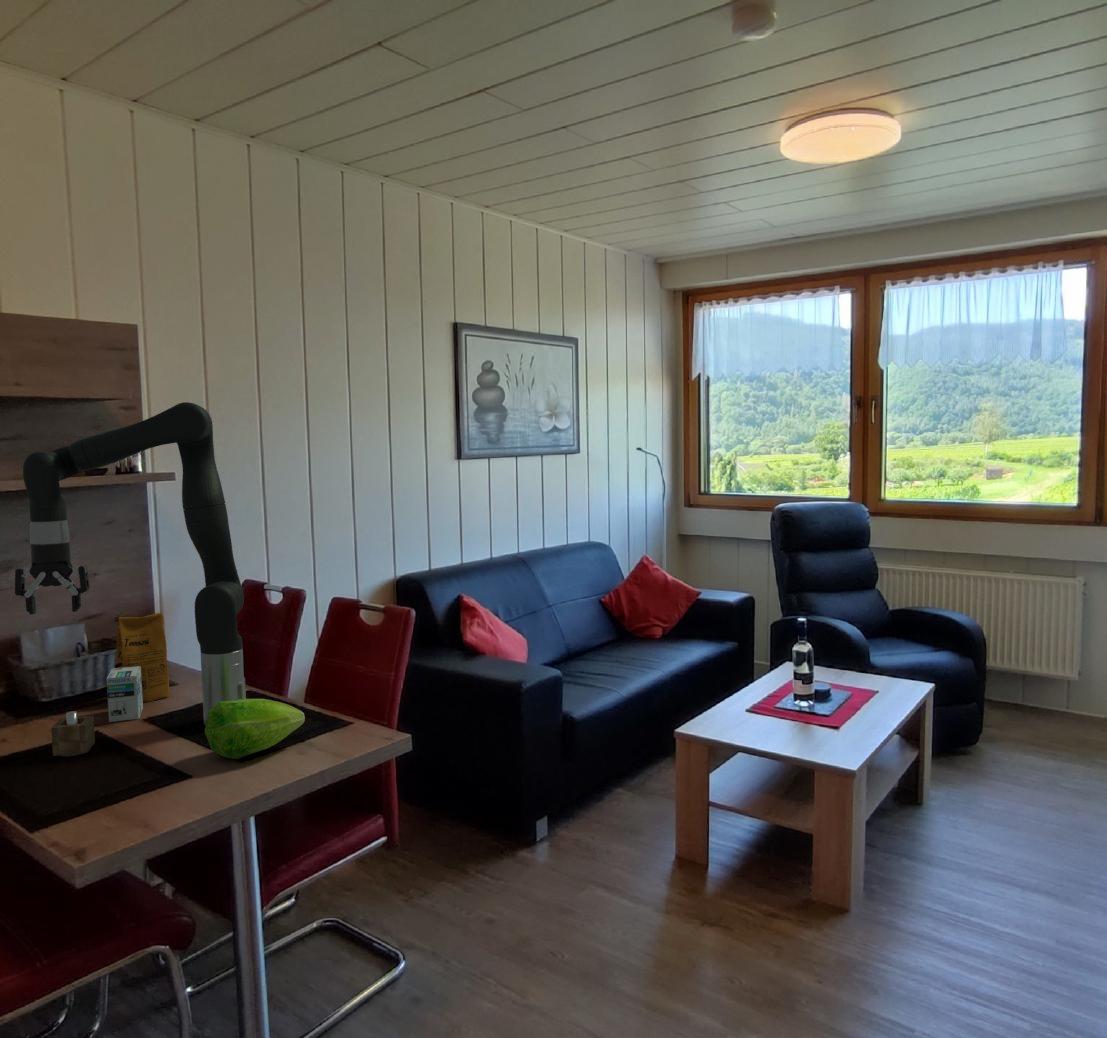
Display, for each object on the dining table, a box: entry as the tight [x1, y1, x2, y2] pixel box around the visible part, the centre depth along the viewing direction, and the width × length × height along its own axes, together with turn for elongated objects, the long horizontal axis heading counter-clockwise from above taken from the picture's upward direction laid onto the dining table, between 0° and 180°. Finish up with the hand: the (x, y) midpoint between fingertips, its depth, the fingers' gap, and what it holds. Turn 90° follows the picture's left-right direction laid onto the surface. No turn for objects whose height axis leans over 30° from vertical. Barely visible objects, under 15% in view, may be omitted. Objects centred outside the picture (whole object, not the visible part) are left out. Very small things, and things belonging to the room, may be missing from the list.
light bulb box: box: [106, 666, 144, 723], centre depth 203 cm, size 11×7×11 cm, turn 22°
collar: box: [51, 715, 96, 757], centre depth 178 cm, size 6×6×6 cm
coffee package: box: [114, 612, 170, 703], centre depth 216 cm, size 10×12×22 cm
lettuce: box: [204, 698, 306, 760], centre depth 176 cm, size 14×20×12 cm
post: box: [57, 710, 91, 758], centre depth 178 cm, size 6×6×9 cm
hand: (54, 612), depth 187 cm, fingers open, 8 cm apart
